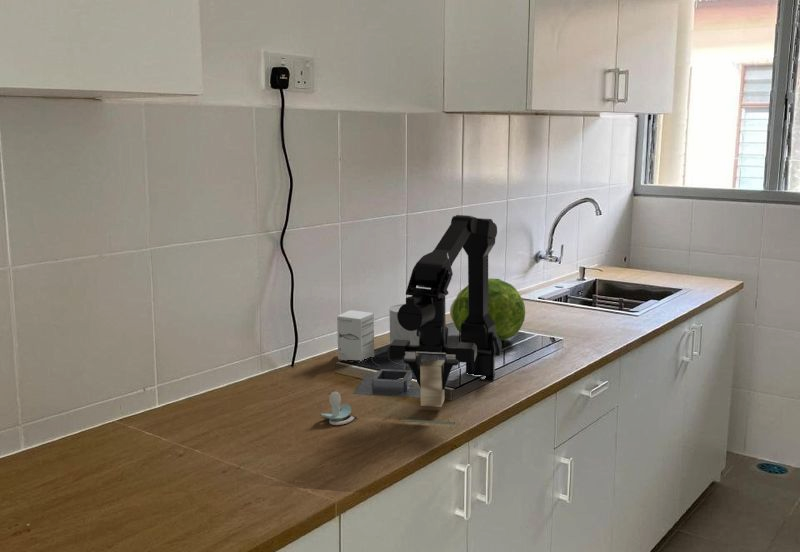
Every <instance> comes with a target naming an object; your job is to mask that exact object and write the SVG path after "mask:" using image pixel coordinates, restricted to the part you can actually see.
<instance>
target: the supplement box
mask: <svg viewBox="0 0 800 552" xmlns="http://www.w3.org/2000/svg"><path fill="white" fill-rule="evenodd" d="M336 317H337V318H336V320H337V322H336V323H337V360H341V361H347V360H360V361H362V360H364V359H367V358H369V357H371V356H373V355H374V356H375V314H374V313H373V312H367V311H361V310H359V311H358V310H351V309H350V310H347V311H346V312H342V313H341V314H339V315H337V316H336ZM369 359H370V358H369ZM367 360H368V359H367Z"/></svg>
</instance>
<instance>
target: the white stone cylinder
mask: <svg viewBox="0 0 800 552" xmlns="http://www.w3.org/2000/svg"><path fill="white" fill-rule="evenodd" d="M404 304H405V303H402V304H400V303H399V304H394V305H392V306H390V307H389V308H388V310H389V345H390V344H391V342H392V341H393V340H394V339H397V340H409V341H410V345H419V337H418V336H417V334H416V333H417V330H415V331H408V330H405V329H404V328H403V327H402V326H401V325H400V324H399V322H398V318H397V313H398V311H399V309H400V307H401V306H402V305H404Z"/></svg>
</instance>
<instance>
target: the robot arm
mask: <svg viewBox="0 0 800 552" xmlns="http://www.w3.org/2000/svg"><path fill="white" fill-rule="evenodd" d="M497 235H498V227H497V224H496V222H494V221H493V219H491V218H479V217H475V216H473V215H465V214H456V215H453V216H452V218H451V221H450V225H449V226H448V228H447V229H446V230H445V232H444V234H443V236H442V237H441V239H440V240H439V242H438V243H437V245H436V246H435V247H434V249H433V250H432V251H431V252H428V253H427V254H425V255H423V256H422V257H420V259H419V260H418V261H417V262H416V263H415V264H414V266H413V269H412V271H411V273H410V277H409V281H408V284H407V288H406V291H405V295H406V296H407V297H406V298H405V303H403V304H404V305H402V306H401V307H400V309H399V311H398V313H397V318H398V322H399V324H400V325H401V326H402V327H403V328H404V329H405V330H408V331H415V330H417V333H416V334H417V336H418V337H419V345H410V341H409V340H397V339H394V340H393V341H392V342H391V344H390V343H389V345H388V346H387V351H386V352H387V359H390V360H402V359H403V358H404V359H403V363H404V364H408V367H409V368H410V371H411V372H412V374H413V375H414V377H416V379H417V382H418V384H419V386H420V388H421V384H420V366H421V364H422V355H426V356H430V355H431V356H445V360H444V368H443V379H442V389H443V390H444V391H445V389H446V385H447V382H448V379H449V376H450V373H451V370H452V369H453V366H458V365H459V363H465V374H466V373H468V374H474V375H485V376H486V378H485V379H484V380H483V381H488V382H490V381H492V382H493V381H494V380H495V378H496V377H495V376H496V373H495V371H496V370H495V369H496V366H495V364H496V362H495V361H496V356H501V355H502V354H501V352H502V348H503V347H502V346H503V343H502V341H500V339H499V337H498V335H497V334H496V330H495V323H494V321H493V320H492V318H491V316H490V315H489V313H488V279H489V254H490V253H491V251H492V249H493V247H494V246H495V244H496V238H497ZM461 250H463V251H464V252H465V254H466V255H467V283H468V284H467V286H468V316H467V318H466V319H465V321H464V323H462V324H461V333H460V332H459V333H460V334H459V339H460V340H459V341H460V342H458V343H457V345H456V346H446V345H448V343H449V342H448V340H449V328H448V327H447V326H446V296H447V295H449V291H448V288H449V286H450V282H451V281H452V277H453V274H454V272H453V270H452V266H453V264H454V262H455V260H456V258H457V257H458V255H459V254H460V252H461ZM421 354H422V355H421ZM404 356H405V357H404Z"/></svg>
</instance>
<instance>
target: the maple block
mask: <svg viewBox="0 0 800 552" xmlns="http://www.w3.org/2000/svg"><path fill="white" fill-rule="evenodd" d="M444 362H445V360H444V359H441V360H440V359H425V358H424V359H423V360H422V361H421V366H420V384H421V397H420V406H421V407H422V406H423V407H438V408H442V406H443V404H444V401H445V389H444V390H443V389H442V379H443V368H444Z"/></svg>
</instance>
